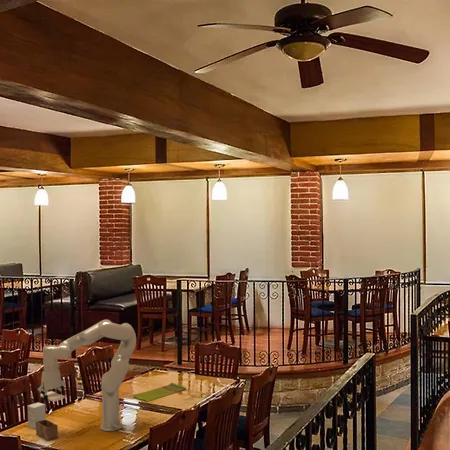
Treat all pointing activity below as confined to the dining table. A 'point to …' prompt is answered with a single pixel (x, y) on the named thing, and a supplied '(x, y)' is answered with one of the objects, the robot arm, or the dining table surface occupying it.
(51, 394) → the lid
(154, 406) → the dining table surface
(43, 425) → the crate
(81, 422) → the dining table surface
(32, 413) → the supplement box
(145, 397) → the dish towel
